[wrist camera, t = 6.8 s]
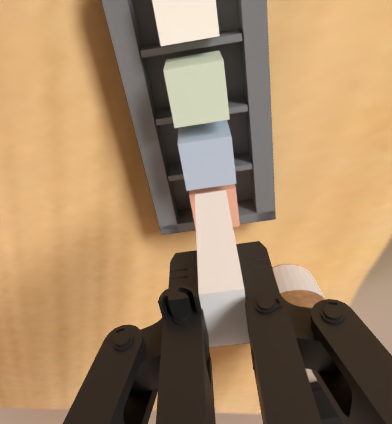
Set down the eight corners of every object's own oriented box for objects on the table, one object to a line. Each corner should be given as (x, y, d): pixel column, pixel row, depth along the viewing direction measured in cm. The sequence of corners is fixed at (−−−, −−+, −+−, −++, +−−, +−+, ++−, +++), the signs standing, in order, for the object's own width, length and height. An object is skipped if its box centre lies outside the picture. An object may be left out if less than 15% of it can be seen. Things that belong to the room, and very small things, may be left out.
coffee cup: (260, 325, 39) (296, 494, 26) (226, 274, 34) (250, 444, 22) (337, 298, 37) (416, 466, 24) (311, 240, 33) (391, 406, 20)
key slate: (178, 126, 24) (177, 144, 21) (226, 119, 24) (231, 135, 21) (186, 169, 26) (186, 190, 23) (231, 163, 25) (236, 183, 23)
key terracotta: (188, 174, 27) (189, 194, 25) (231, 168, 27) (235, 187, 24) (195, 210, 29) (196, 232, 26) (235, 204, 29) (239, 226, 26)
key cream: (152, -24, 20) (147, -24, 18) (208, -35, 20) (212, -36, 18) (163, 38, 22) (160, 46, 20) (215, 29, 22) (219, 36, 19)
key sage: (165, 59, 22) (163, 70, 19) (219, 50, 21) (223, 60, 19) (175, 111, 23) (174, 128, 21) (225, 104, 23) (229, 119, 21)
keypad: (100, -37, 21) (91, -39, 19) (255, -66, 20) (263, -72, 18) (163, 217, 31) (161, 234, 29) (269, 202, 30) (275, 219, 28)
